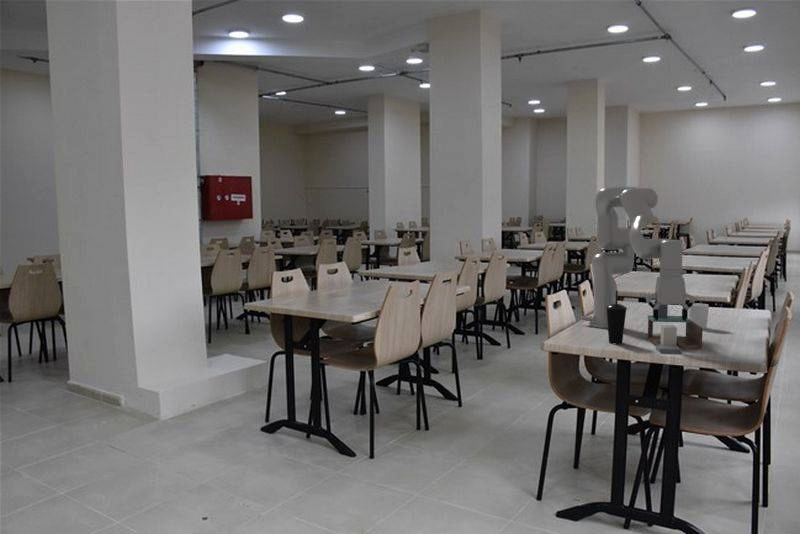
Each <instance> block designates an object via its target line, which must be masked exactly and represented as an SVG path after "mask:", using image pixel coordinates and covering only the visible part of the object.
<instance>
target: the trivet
mask: <svg viewBox="0 0 800 534" xmlns="http://www.w3.org/2000/svg"><path fill="white" fill-rule="evenodd" d="M656 349H657V350H658V351H659V352H660V354H682V353H681V351H682V349H680V348H679V347H677V346H670V345H656V346H655V350H656ZM657 350H656V351H657ZM658 351H657V352H658ZM659 352H658V353H659Z"/></svg>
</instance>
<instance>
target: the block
mask: <svg viewBox="0 0 800 534" xmlns="http://www.w3.org/2000/svg"><path fill="white" fill-rule="evenodd" d="M677 332H678V328H677V326H675V325H669V324H668V325H666V324H665V325H664V324H663V325H662V324H661V325H660V336H661V341H660V345H676V339H677V334H678V333H677Z"/></svg>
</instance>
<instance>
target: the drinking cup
mask: <svg viewBox="0 0 800 534" xmlns="http://www.w3.org/2000/svg"><path fill="white" fill-rule="evenodd" d="M618 295H619V291H618V289H617V290H616V304H611V305H609V306H606V309H607V322H608V328H607V331H608V332H607V333H608V343H609V344H612V343H616V344H615V345H621V344H620V343H622V344H623V339H624V330H625V324H626V323H625V322H626V315H627V314H626V313H627V310H628V307H627V306H625V305H623V304H620V303H618V298H619V297H618Z"/></svg>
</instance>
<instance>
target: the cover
mask: <svg viewBox="0 0 800 534" xmlns="http://www.w3.org/2000/svg"><path fill="white" fill-rule="evenodd" d="M668 306H669V305H660V306H659V307H658V308H657V310H658V321H656V320H655V319H654V318H653V315H652V314H651V315H648V314H647V320H648V319H650V320H651V321H652V322H653V323H686V322H690V323H691V320H690V319H689V317H688V318H686V321H684V320H682V315H668V310H669V309H668V308H669V307H668Z"/></svg>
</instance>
